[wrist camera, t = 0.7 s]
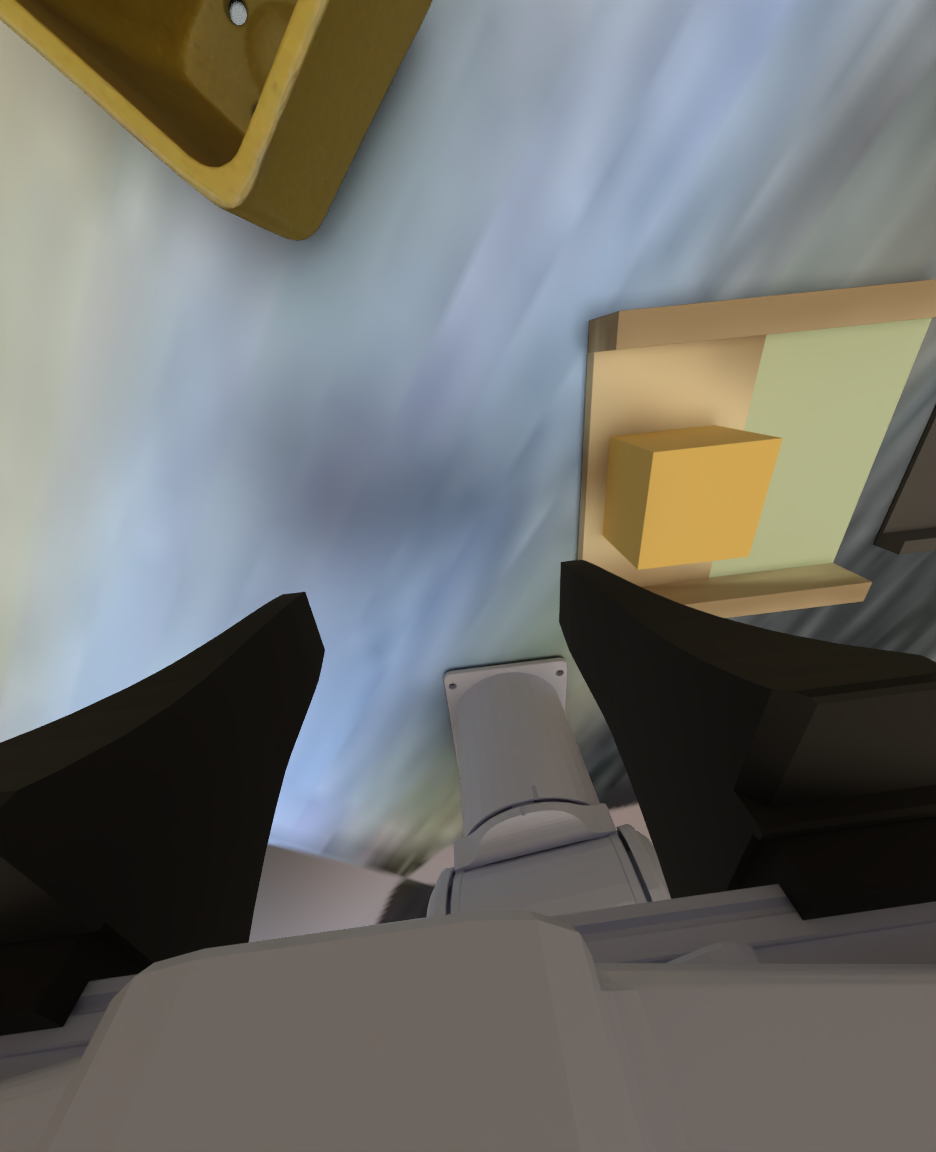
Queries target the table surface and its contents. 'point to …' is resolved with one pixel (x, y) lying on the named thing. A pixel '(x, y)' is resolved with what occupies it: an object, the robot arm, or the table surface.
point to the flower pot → (234, 88)
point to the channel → (711, 419)
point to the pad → (822, 433)
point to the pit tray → (914, 502)
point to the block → (687, 494)
